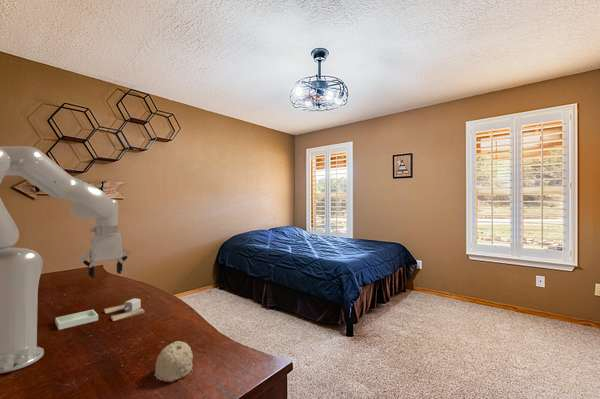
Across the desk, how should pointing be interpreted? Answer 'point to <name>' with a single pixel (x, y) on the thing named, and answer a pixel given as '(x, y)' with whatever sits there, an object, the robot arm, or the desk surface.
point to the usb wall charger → (132, 305)
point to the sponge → (174, 361)
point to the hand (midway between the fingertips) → (105, 274)
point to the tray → (76, 319)
